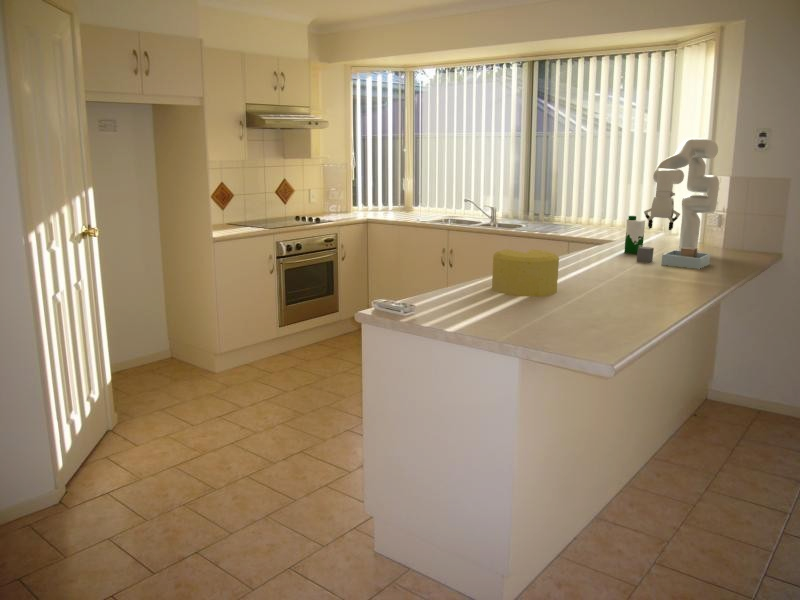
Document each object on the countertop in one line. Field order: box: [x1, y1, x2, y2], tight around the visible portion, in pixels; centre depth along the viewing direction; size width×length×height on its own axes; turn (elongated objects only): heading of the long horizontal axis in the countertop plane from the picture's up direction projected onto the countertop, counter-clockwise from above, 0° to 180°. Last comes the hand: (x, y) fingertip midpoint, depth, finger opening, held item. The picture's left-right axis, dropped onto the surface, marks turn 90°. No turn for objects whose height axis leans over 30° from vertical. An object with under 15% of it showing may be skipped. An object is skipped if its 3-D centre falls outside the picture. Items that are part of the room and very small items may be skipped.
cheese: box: [491, 248, 560, 297], centre depth 277 cm, size 26×26×15 cm
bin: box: [661, 249, 711, 270], centre depth 341 cm, size 18×18×5 cm
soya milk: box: [623, 215, 646, 255], centre depth 374 cm, size 9×9×20 cm
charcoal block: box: [636, 246, 654, 264], centre depth 349 cm, size 6×6×7 cm
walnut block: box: [681, 247, 699, 258], centre depth 344 cm, size 6×6×7 cm
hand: (660, 229), depth 344 cm, fingers open, 9 cm apart
